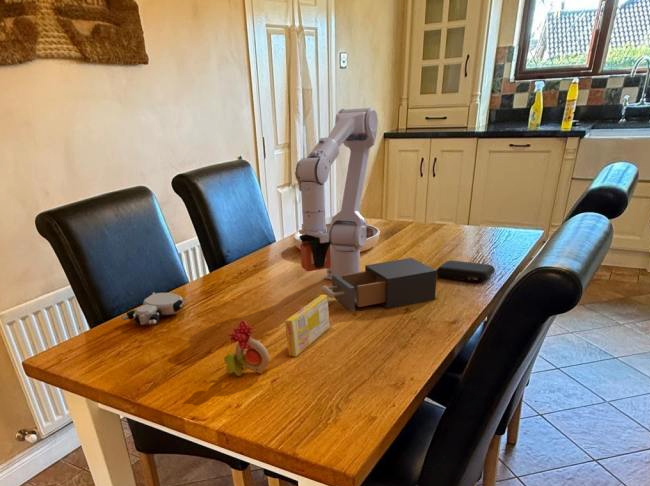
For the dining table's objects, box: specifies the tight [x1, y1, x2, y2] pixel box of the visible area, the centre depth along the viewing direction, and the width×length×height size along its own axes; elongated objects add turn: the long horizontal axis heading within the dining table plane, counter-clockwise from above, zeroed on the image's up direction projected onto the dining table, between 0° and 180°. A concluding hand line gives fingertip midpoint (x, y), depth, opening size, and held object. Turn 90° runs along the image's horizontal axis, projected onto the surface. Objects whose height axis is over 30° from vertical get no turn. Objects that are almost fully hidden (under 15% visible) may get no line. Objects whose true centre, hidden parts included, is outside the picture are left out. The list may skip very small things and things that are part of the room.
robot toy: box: [120, 291, 190, 326], centre depth 134 cm, size 12×4×15 cm
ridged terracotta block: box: [300, 241, 331, 272], centre depth 133 cm, size 7×5×7 cm
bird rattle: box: [223, 319, 270, 377], centre depth 102 cm, size 6×11×9 cm
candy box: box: [284, 294, 331, 358], centre depth 113 cm, size 16×2×8 cm, turn 149°
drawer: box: [321, 270, 386, 312], centre depth 131 cm, size 17×12×6 cm
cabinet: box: [364, 257, 438, 309], centre depth 134 cm, size 14×13×8 cm
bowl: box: [293, 222, 380, 253], centre depth 180 cm, size 30×30×8 cm
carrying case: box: [436, 260, 496, 283], centre depth 144 cm, size 11×3×15 cm
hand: (316, 264), depth 134 cm, fingers closed on ridged terracotta block, 4 cm apart
